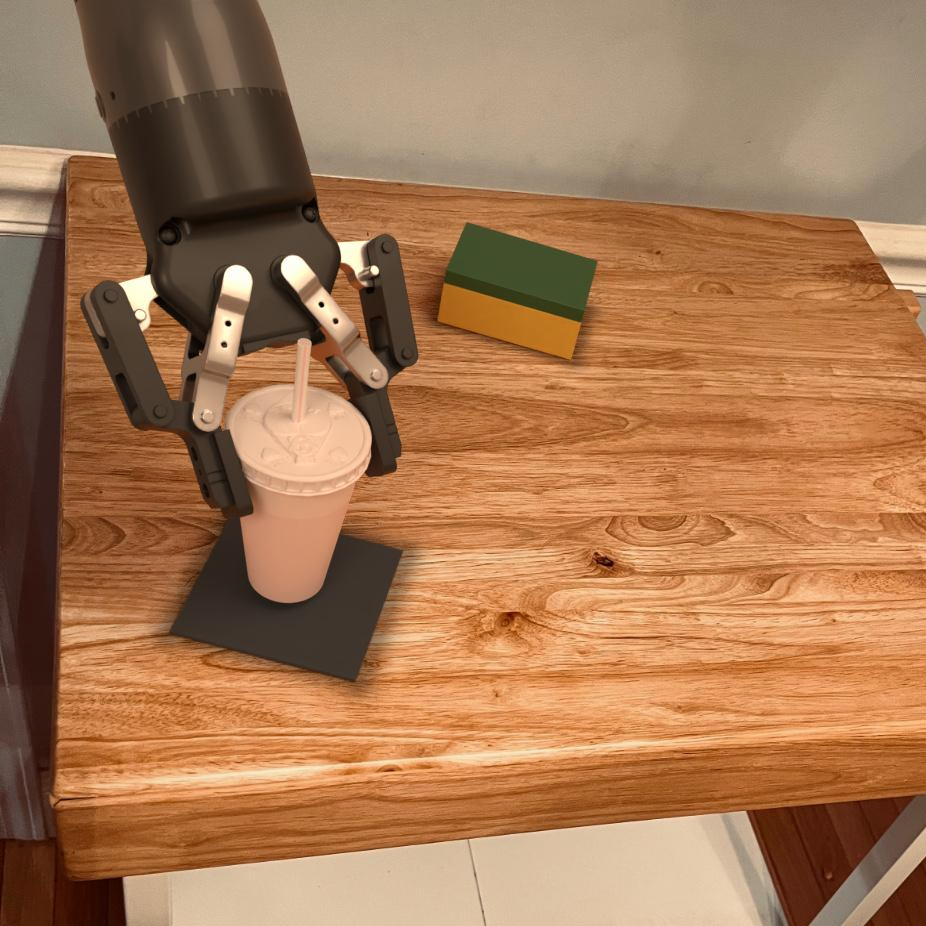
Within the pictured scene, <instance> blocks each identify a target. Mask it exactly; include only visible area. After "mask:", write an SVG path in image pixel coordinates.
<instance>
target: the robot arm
mask: <svg viewBox="0 0 926 926" xmlns="http://www.w3.org/2000/svg"><path fill="white" fill-rule="evenodd" d="M73 3H74V7H75V10H76V15H77V19H78V22H79V27H80V33H81V37H82V45H83V51H84V55H85V61H86V65H87V68H88V72H89V76H90V79H91V82H92V86H93V89H94V94H95V96H94V101H95V104H96V109H97V111H98V114H99V116H100V118H101V119H102V121H103V123H104V124H105V127H106V130H107V133H108V136H109V140H110V142H111V146H112V149H113V152H114V156H115V158H116V161H117V165H118V168H119V170H120V174H121V177H122V180H123V184H124V187H125V190H126V193H127V196H128V200H129V202H130V206H131V209H132V213H133V215H134V218H135V222H136V225H137V229H138V231H139V235H140V237H141V239H142V240H141V241H142V242H143V245H144V248H145V253H146V265H145V268H144V274H143V276H140V277H135V278H132V279H128V280H125V281H121V282H116V281H115V280H109V279H108V280H107V279H106V280H103V281H100V282H99V283H98V284H96V285H95V286H93V287H92V288H91V289H89V290H88V291H86V292H85V293H84V294H83V295H82V296H81V298H80V301H79V307H80V310H81V313H82V315H83V317H84V320H85V322H86V325H87V326H88V328H89V331H90V333H91V336H92V337H93V340H94V343H95V344H96V347H97V349H98V351H99V353H100V356H101V358H102V361H103V363H104V365H105V367H106V370H107V373H108V374H109V376H110V379H111V381H112V384H113V386H114V388H115V390H116V393H117V395H118V397H119V400H120V402H121V404H122V406H123V409H124V411H125V414H126V415H127V418H128V421H129V422H130V424H131V425H132V427H134V428H135V429H136V430H138V431H141V432H148V431H153V432H154V431H155V432H165V433H171V434H173V435H177V436H178V437H179V438H180V439H182V441H183V442H184V444H185V446H186V449H187V453H188V455H189V459H190V461H191V465H192V468H193V471H194V474H195V476H196V481H197V484H198V486H199V490H200V493H201V496H202V499H203V501H204V502H205V504H207V506H208V507H209V508H210V509H211V510H220V512H221V515H222V517H224V519H226V520H228V519H238V518H241V517H245V516H248V515H251V514H253V512H254V508H253V503H252V500H251V497H250V494H249V490H248V487H247V484H246V481H245V478H244V474H243V471H242V468H241V465H240V461H239V458H238V455H237V452H236V449H235V445H234V442H233V439H232V436H231V432H230V429H228V430H224V429H223V428H222V425H221V424H222V420H223V415H224V414H223V413H224V409H225V403H226V400H227V399H226V398H227V393H228V387H229V384H230V381H231V379H232V377H233V376H234V373H235V369H236V366H237V361H238V358H240V357H245V356H249V355H251V354H253V353H256V352H259V351H262V350H264V349H265V348H270V349H281V348H286V347H290V346H295V345H297V344H298V340H299V339H302V338H305V339H308V340H310V341H311V353H310V358H312V359H313V360H315V361H317V362H319V363H320V364H322V365H323V366H324V368H325V369H326V370H327V371H328V372H329V373H330V375H332V377H333V378H334V379H335V380H336V381H337V382H338V383H339V385H340V386H342V388H343V389H344V390H345V391H346V392H347V394H348V396H349V398H347V399H346V400H347V401H348V402H350V403H351V404H352V405H354V406H355V407H356V408H357V409H358V410H359V411H360V412H361V413H362V415H363V416H364V417H365V419H366V421H367V422H368V425H369V427H370V430H371V437H372V441H371V458H370V461H369V464H368V467H367V469H366V471H365V472H364V475H366V477H368V478H377V477H384V476H387V475H390V474H393V473H396V472H397V470H398V463H397V459H398V458H402V451H403V445H402V444H403V443H402V441H401V437H400V434H399V430H398V427H397V424H396V419H395V416H394V412H393V409H392V405H391V401H390V398H389V393H388V388H389V384H390V382H391V381H392V379H393V378H395V377H396V376H398V374H400V373H402V372H403V370H405V369H407V368H410V367H413V366H415V365H416V363H417V362H418V361H419V349H418V343H417V338H416V333H415V327H414V321H413V316H412V312H411V307H410V306H411V305H410V300H409V297H408V295H409V294H408V291H407V285H406V279H405V273H404V269H403V263H402V257H401V252H400V251H401V250H400V247H399V243H398V241H397V239H396V238H395V237H394V236H392V234H388V233H381V234H379V235H376V236H373V237H371V238H369V239H366V240H351V241H337V240H336V238H335V237H334V236H333V234H332V233H331V232H330V231H329V230H328V228H327V227H326V225H325V224H324V222H323V220H322V218H321V214H320V210H319V202H318V194H317V189H316V185H315V183H314V179H313V176H312V175H313V174H312V172H311V169H310V164H309V161H308V159H307V158H308V157H307V155H306V151H305V147H304V144H303V140H302V136H301V132H300V129H299V127H298V123H297V119H296V116H295V112H294V109H293V104H292V102H291V98H290V95H289V91H288V88H287V83H286V80H285V77H284V74H283V73H284V72H283V69H282V66H281V62H280V59H279V54H278V51H277V48H276V45H275V42H274V38H273V34H272V32H271V30H270V26H269V24H268V21H267V19H266V17H265V14H264V12H263V9H262V7H261V5H260V3H259V0H73ZM339 270H341V271H342V272H343V273H344V275H345V276H346V279H347V282H348V284H349V285H350V286H351V288H353V289H355V290H357V291H358V296H359V300H360V301H359V302H360V306H361V311H362V317H363V321H364V322H363V323H364V326H365V327H364V328H365V332H366V333H365V334H366V337H367V341H368V342H367V343H368V345H367V344H366V342H365V341H363V339H362V337H361V330H360V329H359V327H358V326H357V325H356V323H355V322H354V321H353V320H352V319H351V318H350V316H349V315H348V314H347V313H346V312H345V311H344V309H342V307H341V306H340V305H339V304H338V303H337V301H336V300H335V299H334V298H333V297H332V292H333V289H334V287H335V283H336V280H337V276H338V274H339ZM152 301H153V303H155V304H156V305H157V306H158V307H159V308H160V309H161V310H163V311H164V312H165V313H166V314H168V316H170V318H172V319H173V320H174V321H176V322H177V323H178V324H179V325H180V326H182V327H183V328H184V329H185V330H186V331H187V336H186V341H185V347H184V351H183V357H182V363H181V368H180V378H181V385H180V391H179V397H178V399H172V398H171V396H170V394H169V392H168V389H167V387H166V385H165V382H164V380H163V377H162V375H161V373H160V370H159V368H158V366H157V363H156V361H155V359H154V356H153V354H152V352H151V349H150V347H149V344H148V342H147V339H146V337H145V335H144V332H145V331H147V330H148V329H149V328H150V326H151V321H152V320H151V313H150V305H151V302H152Z"/></svg>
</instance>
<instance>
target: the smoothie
mask: <svg viewBox="0 0 926 926" xmlns="http://www.w3.org/2000/svg"><path fill="white" fill-rule="evenodd" d="M296 345H297V346H296V359H295V370H294V382H293V383H280V384H278V383H277V384H273V385H272V384H271V385H266V386H263V387H260V388H257V389H253V390H252V391H250V392H248V393H246V394H244V395H243V396H241V397H240V398H238V399H237V400H236V401H235V402H234V403H233V404H232V405H231V407H230V408H229V410H228V411H227V413H226V416H225V420H224V429H223V430H228V429H230V432H231V436H232V439H233V442H234V445H235V449H236V452H237V455H238V458H239V461H240V465H241V468H242V471H243V474H244V478H245V481H246V484H247V487H248V490H249V494H250V497H251V500H252V503H253V508H254V512H253V514H251V515H248V516H245V517H241V518H240V521H241V528H242V535H243V542H244V550H245V557H246V564H247V572H248V578H249V581H250V583H251V585H252V587H253V588H254V589H255V590H256V591H257V592H258V593H259V594H260V595H262V596H264V597H265V598H268V599H270V600H273V601H276V602H282V603H295V602H300V601H304V600H306V599H309V598H310V597H312V596H314V595H315V594H316V593H317V592H318V591H319V590H320V589H321V587H322V585H323V583H324V580H325V576H326V573H327V570H328V567H329V564H330V561H331V558H332V555H333V552H334V549H335V545H336V542H337V539H338V536H339V533H340V534H341V529H342V526H343V524H344V520H345V517H346V514H347V511H348V508H349V504H350V501H351V499H352V496H353V493H354V490H355V486H356V483H357V482H358V480H360V478H361V477H362V476H363V475H364V474H365V471H366V469H367V467H368V464H369V461H370V458H371V441H372V437H371V430H370V427H369V425H368V422H367V421H366V419H365V417H364V416H363V415H362V413H361V412H360V411H359V410H358V409H357V408H356V407H355V406H354V405H352V404H351V403H350V402H348V401H347V399H345V398H344V397H342V396H340V395H338V394H336V393H334V392H332V391H330V390H327V389H324V388H321V387H319V386H312V385H309V373H310V363H311V356H310V353H311V341H310V340H308V339H305V338H302V339H299V340H298V344H296Z"/></svg>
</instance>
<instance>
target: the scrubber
mask: <svg viewBox="0 0 926 926" xmlns="http://www.w3.org/2000/svg"><path fill="white" fill-rule="evenodd" d="M597 266H598V260H597V259H594V258H590V257H587V256H584V255H580V254H577V253H572V252H570V251H566V250H563V249H560V248H556V247H552V246H550V245H546V244H542V243H540V242H535V241H533V240H529V239H527V238H522V237H519V236H515V235H512V234H509V233H506V232H502V231H498V230H495V229H492V228H488V227H485V226H482V225H478V224H475V223H472V222H468V221H466V222H465V224H464V227H463V229H462V232H461V234H460V236H459V238H458V241H457V243H456V245H455V247H454V249H453V252H452V255H451V256H450V260H449V262H448V264H447V266H446V269H445V273H444V279H443V285H442V290H441V297H440V303H439V308H438V315H437V322H438V323H441V324H445V325H448V326H452V327H454V328H459V329H462V330H466V331H469V332H473V333H477V334H479V335H483V336H486V337H490V338H493V339H497V340H500V341H504V342H507V343H511V344H514V345H518V346H521V347H525V348H528V349H531V350H535V351H538V352H541V353H545V354H549V355H552V356H555V357H559V358H563V359H566V360H569V361H571V360H572V359H573V354H574V350H575V347H576V343H577V339H578V335H579V334H580V329H581V326H582V322H583V318H584V315H585V310H586V307H587V304H588V300H589V295H590V293H591V289H592V284H593V281H594V277H595V273H596V270H597Z"/></svg>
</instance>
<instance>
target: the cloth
mask: <svg viewBox="0 0 926 926" xmlns="http://www.w3.org/2000/svg"><path fill="white" fill-rule="evenodd" d="M403 551H404V550H402V549H399V548H395V547H393V546H388V545H384V544H381V543H378V542H373V541H371V540H370V541H369V540H366V539H362V538H359V537H355V536H351V535H348V534H344V533H341V532H340V533H339V536H338V539H337V542H336V545H335V549H334V552H333V555H332V558H331V561H330V564H329V567H328V570H327V573H326V576H325V580H324V583H323V585H322V587H321V589H320V590H319V591H318V592H317V593H316V594H315V595H314V596H312V597H310V598H309V599H306V600H304V601H300V602H295V603H282V602H276V601H273V600H270V599H268V598H265V597H264V596H262V595H260V594H259V593H258V592H257V591H256V590H255V589H254V588H253V587H252V585H251V583H250V581H249V578H248V572H247V564H246V557H245V550H244V542H243V535H242V528H241V521H240V518H238V519H227V521H226V523H225V525H224V526H223V529H222V531H221V532H220V534H219V536H218V538H217V540H216V542H215V543H214V546H213V548H212V550H211V552H210V554H208V557H207V559H206V561H205V563H204V565H203V566H202V569H201V571H200V572H199V575H198V576H197V578H196V579H195V582H194V584H193V586H192V588H191V590H190V592H189V593H188V596H187V597H186V600H185V601H184V603H183V605H182V607H181V609H180V611H179V613H178V615H177V617H176V618H175V621H174V622H173V624H172V626H171V627H170V630H169V634H170V635H175V636H178V637H182V638H186V639H189V640H193V641H196V642H200V643H205V644H208V645H212V646H217V647H220V648H224V649H228V650H231V651H235V652H239V653H242V654H247V655H250V656H254V657H257V658H261V659H264V660H265V659H266V660H270V661H274V662H277V663H281V664H285V665H288V666H293V667H295V668H296V667H297V668H300V669H304V670H306V671H307V670H308V671H312V672H315V673H319V674H323V675H326V676H330V677H333V678H338V679H342V680H346V681H349V682H353V683H356V682H357V678H358V676H359V672H360V670H361V668H362V665H363V663H364V659H365V657H366V654H367V651H368V649H369V647H370V643H371V640H372V638H373V635H374V632H375V629H376V627H377V624H378V621H379V619H380V615H381V613H382V611H383V607H384V605H385V602H386V599H387V596H388V594H389V591H390V588H391V585H392V583H393V580H394V577H395V574H396V571H397V569H398V566H399V564H400V561H401V558H402V555H403Z"/></svg>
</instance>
